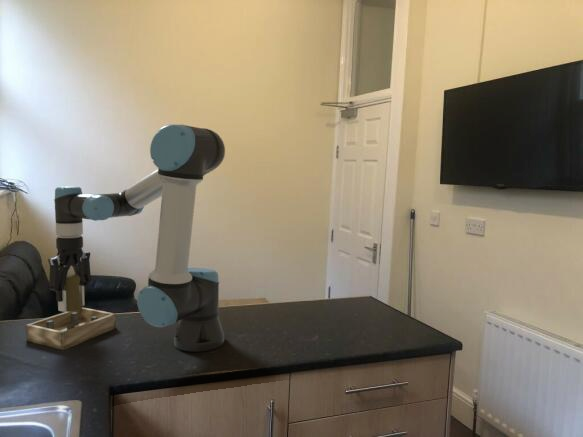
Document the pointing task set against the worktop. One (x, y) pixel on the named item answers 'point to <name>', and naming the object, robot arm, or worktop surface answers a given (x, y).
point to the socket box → (70, 328)
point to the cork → (72, 293)
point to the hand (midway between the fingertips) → (71, 307)
